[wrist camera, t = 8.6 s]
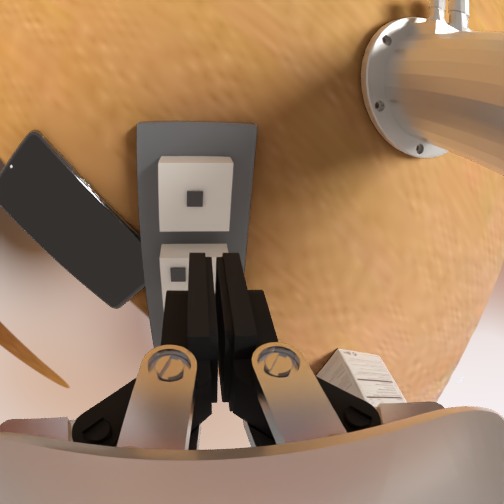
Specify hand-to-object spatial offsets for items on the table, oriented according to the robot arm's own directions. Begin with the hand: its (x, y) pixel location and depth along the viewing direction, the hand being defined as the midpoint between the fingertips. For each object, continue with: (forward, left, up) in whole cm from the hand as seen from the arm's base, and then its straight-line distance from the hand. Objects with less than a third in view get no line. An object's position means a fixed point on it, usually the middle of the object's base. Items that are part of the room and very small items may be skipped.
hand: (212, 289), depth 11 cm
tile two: (+6, 0, -11) cm, 13 cm away
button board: (+6, 0, -14) cm, 15 cm away
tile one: (0, 0, -12) cm, 12 cm away
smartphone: (+4, -10, -14) cm, 18 cm away
